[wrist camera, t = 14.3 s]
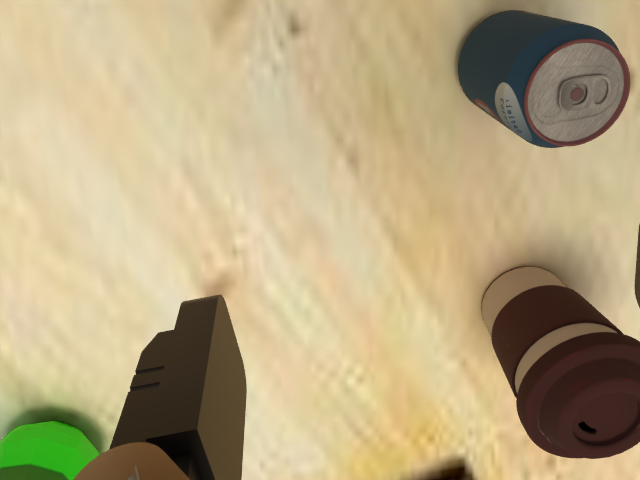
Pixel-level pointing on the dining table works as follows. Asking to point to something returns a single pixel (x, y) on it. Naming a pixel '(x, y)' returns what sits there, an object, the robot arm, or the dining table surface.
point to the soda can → (545, 77)
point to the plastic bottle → (44, 452)
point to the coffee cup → (564, 365)
